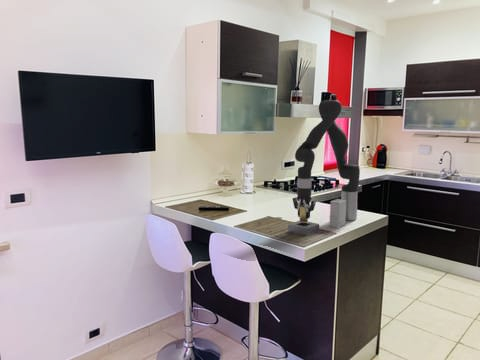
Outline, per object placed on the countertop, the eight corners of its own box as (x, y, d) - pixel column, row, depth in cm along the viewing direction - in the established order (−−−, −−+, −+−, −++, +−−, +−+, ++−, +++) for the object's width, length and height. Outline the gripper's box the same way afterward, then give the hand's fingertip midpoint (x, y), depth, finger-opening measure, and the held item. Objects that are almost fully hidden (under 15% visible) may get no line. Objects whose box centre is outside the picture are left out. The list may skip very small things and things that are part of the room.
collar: (300, 227, 216) (300, 220, 216) (319, 231, 208) (319, 224, 207) (287, 231, 208) (287, 224, 207) (306, 236, 200) (306, 228, 199)
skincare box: (336, 223, 223) (337, 198, 221) (346, 225, 219) (346, 199, 217) (329, 226, 217) (329, 200, 215) (338, 228, 213) (339, 202, 211)
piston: (302, 219, 210) (302, 204, 209) (309, 220, 207) (309, 205, 206) (297, 220, 207) (298, 205, 206) (304, 222, 204) (305, 207, 203)
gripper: (319, 187, 202) (319, 218, 205) (297, 184, 212) (297, 214, 214) (311, 189, 196) (311, 221, 199) (289, 185, 206) (288, 216, 209)
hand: (303, 217), depth 207 cm, fingers closed on piston, 4 cm apart
